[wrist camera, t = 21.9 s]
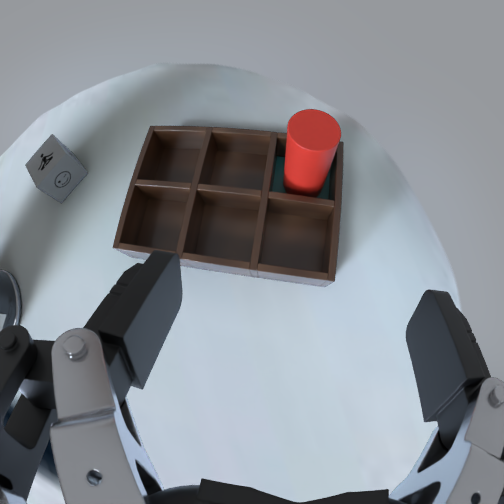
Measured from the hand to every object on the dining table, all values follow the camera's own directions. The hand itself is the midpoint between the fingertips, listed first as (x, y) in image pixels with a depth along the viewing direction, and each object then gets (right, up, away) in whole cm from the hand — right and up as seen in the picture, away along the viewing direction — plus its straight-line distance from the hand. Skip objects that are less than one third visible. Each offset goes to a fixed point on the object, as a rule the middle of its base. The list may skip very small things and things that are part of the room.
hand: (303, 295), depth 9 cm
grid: (-3, +6, +19) cm, 21 cm away
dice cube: (-25, +11, +22) cm, 35 cm away
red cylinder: (+3, +8, +19) cm, 21 cm away
